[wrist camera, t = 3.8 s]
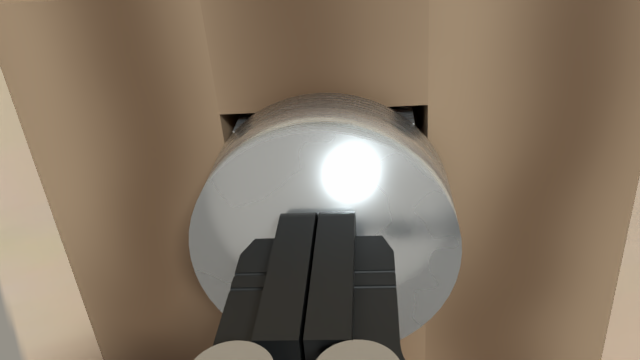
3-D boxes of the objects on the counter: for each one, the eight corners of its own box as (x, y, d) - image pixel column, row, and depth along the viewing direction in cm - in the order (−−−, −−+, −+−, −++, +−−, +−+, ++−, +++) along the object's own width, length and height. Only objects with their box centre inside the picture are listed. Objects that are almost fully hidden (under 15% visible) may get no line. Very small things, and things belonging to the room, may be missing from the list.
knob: (438, 43, 15) (467, 126, 11) (435, 228, 18) (457, 354, 13) (220, 55, 16) (163, 138, 11) (249, 233, 18) (212, 355, 14)
